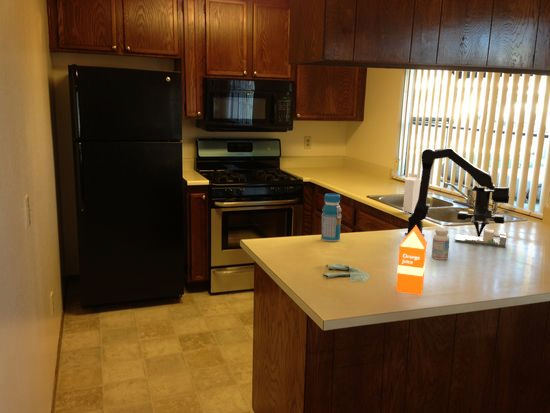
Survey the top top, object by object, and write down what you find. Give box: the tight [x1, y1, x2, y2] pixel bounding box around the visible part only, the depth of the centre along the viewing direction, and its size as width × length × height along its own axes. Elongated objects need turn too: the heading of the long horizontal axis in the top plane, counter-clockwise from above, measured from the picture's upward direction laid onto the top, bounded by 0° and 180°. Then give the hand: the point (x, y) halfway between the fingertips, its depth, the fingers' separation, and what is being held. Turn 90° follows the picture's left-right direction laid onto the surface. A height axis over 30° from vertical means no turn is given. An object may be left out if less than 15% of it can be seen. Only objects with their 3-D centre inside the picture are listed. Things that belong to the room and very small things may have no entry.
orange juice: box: [396, 225, 428, 296], centre depth 156 cm, size 8×9×20 cm
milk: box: [402, 172, 421, 213], centre depth 276 cm, size 6×6×22 cm
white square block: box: [482, 228, 500, 241], centre depth 213 cm, size 8×8×4 cm
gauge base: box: [454, 231, 507, 249], centre depth 216 cm, size 20×10×4 cm, turn 66°
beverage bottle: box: [320, 193, 342, 243], centre depth 214 cm, size 8×8×20 cm
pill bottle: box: [431, 228, 450, 261], centre depth 191 cm, size 6×6×11 cm
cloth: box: [323, 262, 371, 283], centre depth 172 cm, size 20×22×2 cm
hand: (478, 236), depth 216 cm, fingers closed
